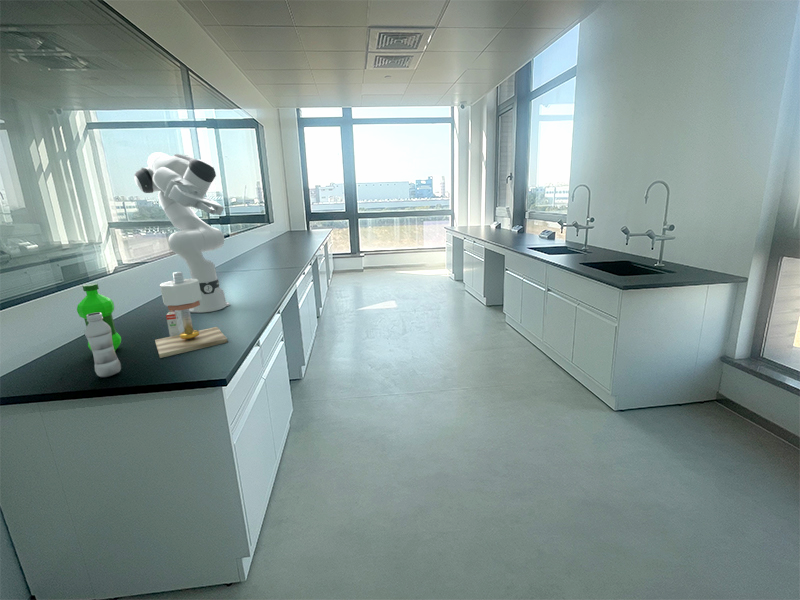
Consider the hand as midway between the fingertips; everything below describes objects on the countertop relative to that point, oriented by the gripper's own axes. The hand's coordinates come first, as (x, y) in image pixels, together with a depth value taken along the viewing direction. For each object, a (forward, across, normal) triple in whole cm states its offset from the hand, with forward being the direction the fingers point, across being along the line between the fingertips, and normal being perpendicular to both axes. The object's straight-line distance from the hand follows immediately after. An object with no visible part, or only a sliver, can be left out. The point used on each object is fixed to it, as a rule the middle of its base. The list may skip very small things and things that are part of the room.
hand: (212, 211), depth 142 cm
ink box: (+4, -9, -52) cm, 53 cm away
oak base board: (+16, -3, -47) cm, 50 cm away
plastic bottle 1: (-4, +10, -63) cm, 64 cm away
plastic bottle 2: (+17, +25, -56) cm, 63 cm away
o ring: (+9, +1, -35) cm, 36 cm away
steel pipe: (+15, -2, -46) cm, 48 cm away
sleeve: (+8, +2, -33) cm, 34 cm away
